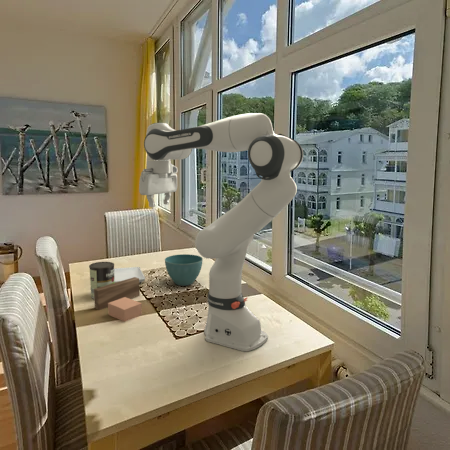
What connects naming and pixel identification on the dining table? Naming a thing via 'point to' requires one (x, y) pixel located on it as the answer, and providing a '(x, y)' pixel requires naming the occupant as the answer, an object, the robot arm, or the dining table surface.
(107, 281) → the coffee can
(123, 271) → the salad plate
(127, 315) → the terracotta block
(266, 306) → the dining table surface
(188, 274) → the plant pot
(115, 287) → the walnut board
